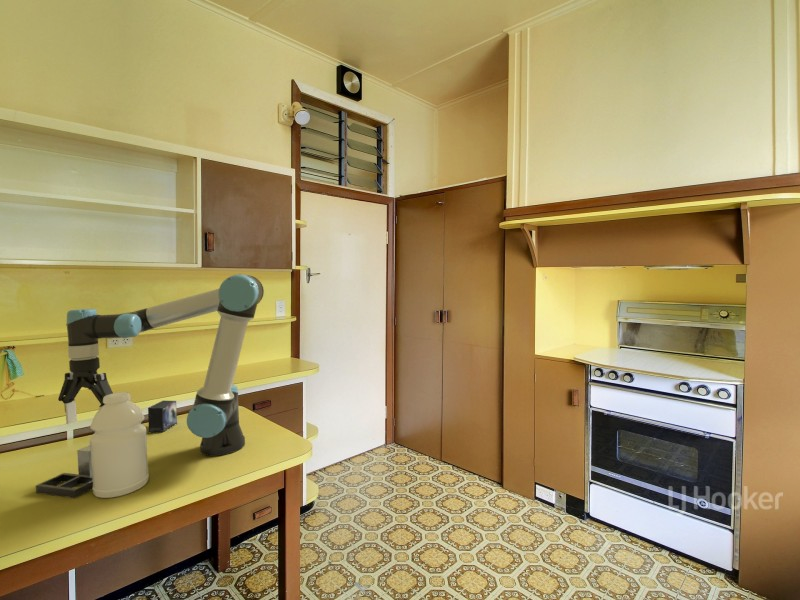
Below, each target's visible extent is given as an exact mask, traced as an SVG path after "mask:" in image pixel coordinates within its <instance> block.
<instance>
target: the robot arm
mask: <svg viewBox="0 0 800 600" xmlns="http://www.w3.org/2000/svg"><path fill="white" fill-rule="evenodd" d="M264 292H265V290H264V286H263V283H262V282H261V281H260V280H259V279H258V278H257V277H256V276H252V275H248V274H241V273H237V274H233V275H231V276H228V277H227V278H226V279H224V280H223V281H222V282H221V284H220V286H219V288H216V289H211V290H208V291H205V292H201V293H198V294H194V295H190V296H186V297H184V298H180V299H176V300H171V301H168V302H165V303H161V304H157V305H153V306H150V307H149V306H148V307H147V308H142V309H139V310H134V311H129V312H123V313H116V314H98V312H97V310H96V309H95V308H80V309H76V308H75V309H70V310H69V311H67V313H66V325H65V326H66V330H67V341H68V343H67V344H68V346H67V349H68V351H67V352H68V359H70V360H69V361H68V365H69V366H68V367H69V371H70V372H65V373H64V379H63V383H62V387H61V389H60V392H59V395H58V400H57V401H59V402H62V403H63V404H64V412H65V421H66V425H70V424H73V423H76V422H77V421H78V416H77V401H76V397H77V396H78V394H79V392H80V391H81V389H82V388H85V389H87V390H89V391H91V393H93V395H94V396H95V398H96V400H97V401H98V403H99V404H100V405H98V410H99V409H100V408H101V407H102V406H103V405H105V404H104V403H103V397H104V396H106V395H109V394H113V390H112V388H111V386H110V384H109V381H108V378H107V374H106V372H102V373H98V370H99V369H100V357H99V355H100V351H99V350H100V349H99V339H100V340H101V339H120V338H121V339H126V338H135V337H138V336H139V335H140V334H139V333H143V332H147V331H150V330H153V329H157V328H160V327H163V326H167V325H170V324H174V323H178V322H182V321H185V320H190V319H192V318H196V317H200V316H203V315H206V314H211V313H214V312H218V315H219V316H220V319H219V323H218V327H217V331H216V335H215V339H214V342H213V347H212V352H211V354H210V359H209V362H208V366H207V367H208V368H207V372H206V375H205V379H204V383H203V387H200V388H199V389H198V390H197V391H196V395H195V398H194V402H193V406H192V407H191V409H189V411H188V413H187V416H186V425H187V429H189V430H190V432H191V433H192V434H193V435H194V436H196V437H199V438H201V441H200V445H199V447H200V448H199V451H200V454H202V455H204V456H210V457H215V456H224V455H229V454H232V453H234V452H237V451H240V450H242V449H243V447H245V445H246V440H245V439H246V438H245V435H244V433H243V431H242V428H241V425H240V417H239V415H240V412H239V389H238V386H237V385H235V384H233V383H234V380H235V377H236V375H235V374H236V371H237V367H238V362H239V358H240V355H241V351H242V349H243V348H242V347H243V343H244V340H245V335H246V331H247V327H248V323H249V322H250V321H252V320H253V319H255V314H256V310H257V307H258V304H259V303H260V302H261V301H262V299H263V297H264V294H265V293H264Z"/></svg>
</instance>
